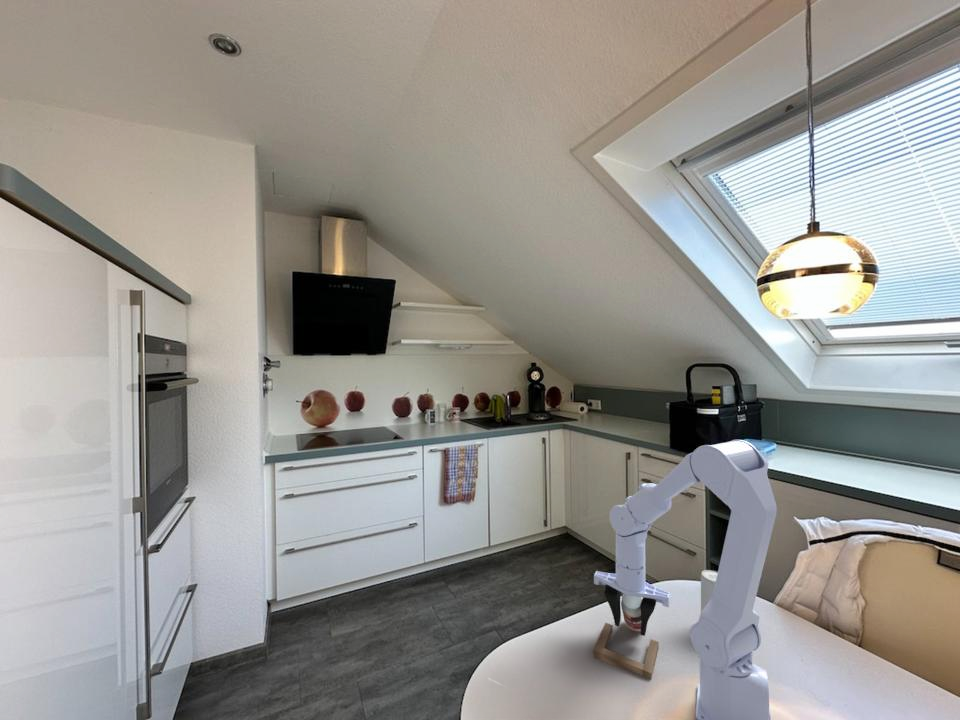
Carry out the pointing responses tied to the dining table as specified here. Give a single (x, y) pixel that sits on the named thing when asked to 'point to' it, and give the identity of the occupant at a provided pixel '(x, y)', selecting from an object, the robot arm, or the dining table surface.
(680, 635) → the dining table surface
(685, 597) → the dining table surface
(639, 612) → the pill bottle
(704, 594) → the beverage can
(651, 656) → the socket block
